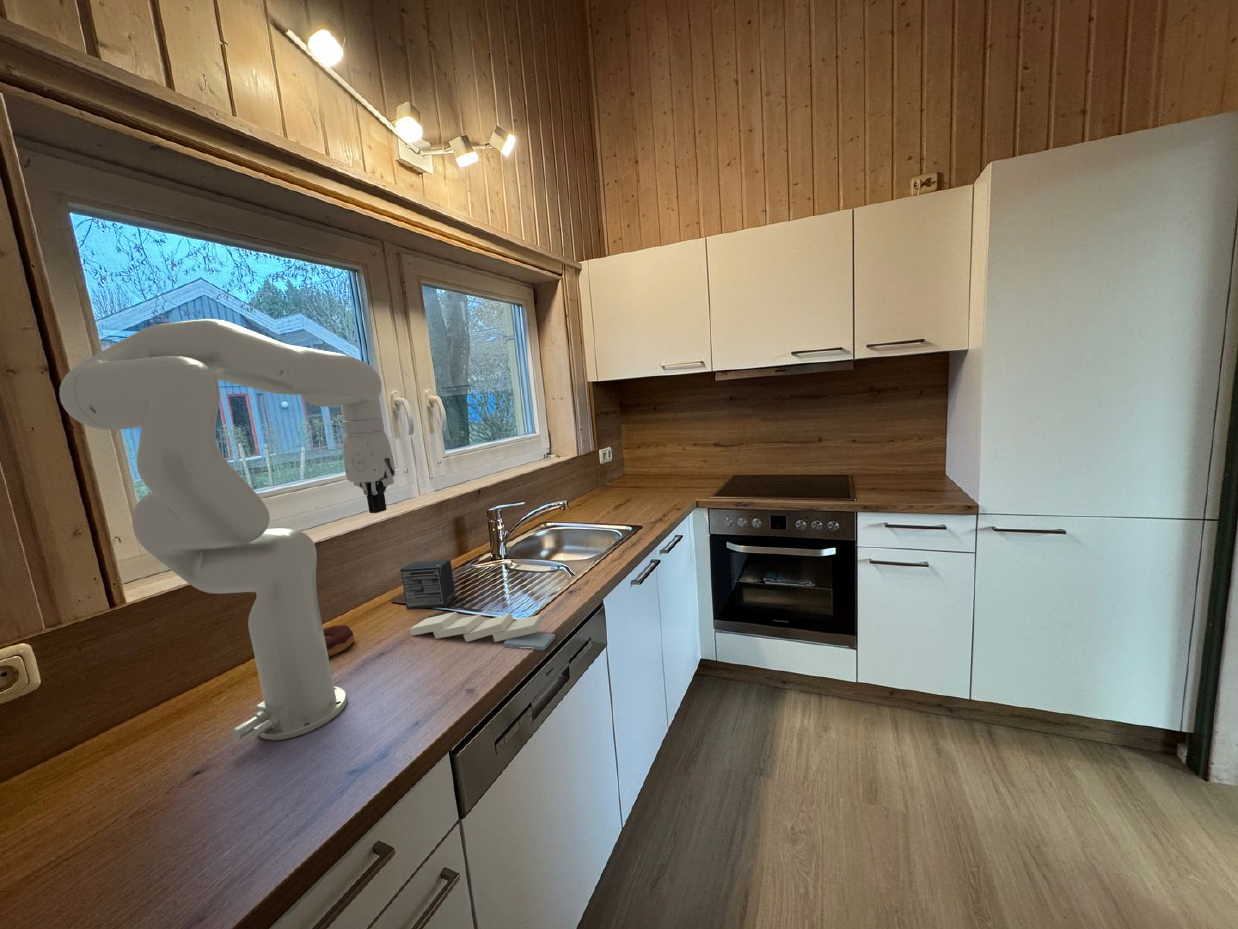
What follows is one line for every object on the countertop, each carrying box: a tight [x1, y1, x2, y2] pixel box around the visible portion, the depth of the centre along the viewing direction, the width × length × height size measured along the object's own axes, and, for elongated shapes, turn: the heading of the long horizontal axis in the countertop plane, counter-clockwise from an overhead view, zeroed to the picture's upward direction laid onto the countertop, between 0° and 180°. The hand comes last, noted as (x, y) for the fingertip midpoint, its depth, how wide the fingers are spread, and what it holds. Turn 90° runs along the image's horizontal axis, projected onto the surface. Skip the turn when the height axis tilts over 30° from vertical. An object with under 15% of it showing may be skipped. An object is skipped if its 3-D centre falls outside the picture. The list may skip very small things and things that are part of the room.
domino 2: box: [433, 614, 484, 640], centre depth 106 cm, size 2×5×9 cm
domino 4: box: [492, 614, 544, 643], centre depth 102 cm, size 2×5×9 cm
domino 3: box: [462, 612, 515, 643], centre depth 103 cm, size 2×5×9 cm
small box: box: [400, 558, 457, 610], centre depth 124 cm, size 11×6×10 cm, turn 84°
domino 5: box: [502, 632, 556, 652], centre depth 100 cm, size 2×5×9 cm
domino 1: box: [409, 611, 460, 637], centre depth 108 cm, size 2×5×9 cm
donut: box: [323, 624, 355, 658], centre depth 104 cm, size 10×10×4 cm
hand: (378, 511), depth 108 cm, fingers closed
